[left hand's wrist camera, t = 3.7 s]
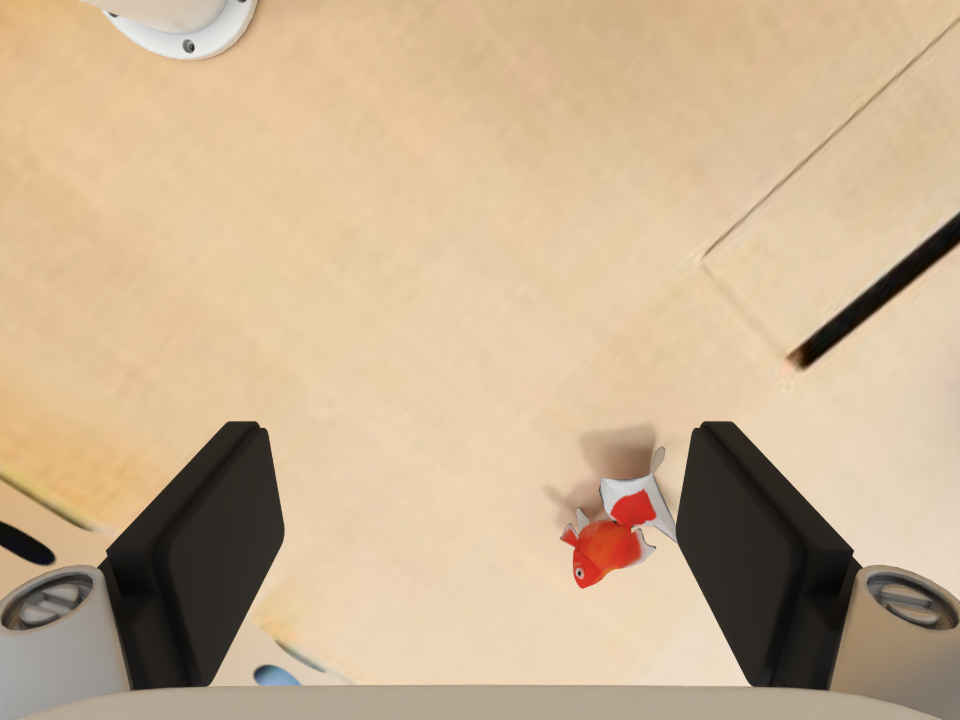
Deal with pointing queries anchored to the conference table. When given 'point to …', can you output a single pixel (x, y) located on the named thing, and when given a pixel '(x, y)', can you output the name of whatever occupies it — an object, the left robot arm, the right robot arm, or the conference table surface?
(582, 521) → the fish
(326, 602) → the conference table surface
